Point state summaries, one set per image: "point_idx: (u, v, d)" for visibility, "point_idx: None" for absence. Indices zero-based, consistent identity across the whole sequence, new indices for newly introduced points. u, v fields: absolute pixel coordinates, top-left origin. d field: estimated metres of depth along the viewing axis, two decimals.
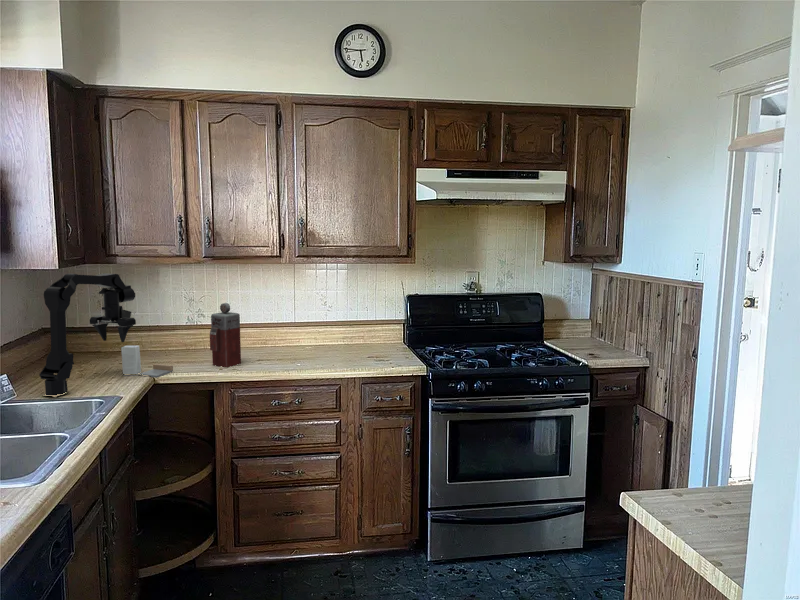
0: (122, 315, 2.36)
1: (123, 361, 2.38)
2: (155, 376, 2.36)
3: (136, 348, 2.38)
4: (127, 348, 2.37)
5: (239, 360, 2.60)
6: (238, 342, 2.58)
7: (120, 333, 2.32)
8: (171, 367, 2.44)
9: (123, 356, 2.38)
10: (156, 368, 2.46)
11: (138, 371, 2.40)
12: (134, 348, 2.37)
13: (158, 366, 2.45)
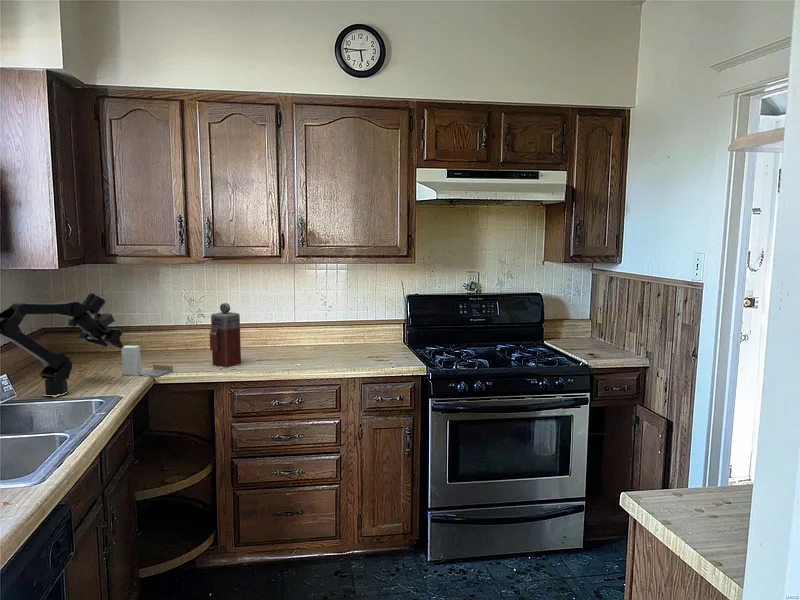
0: (105, 327, 2.24)
1: (123, 361, 2.38)
2: (155, 376, 2.36)
3: (136, 348, 2.38)
4: (127, 348, 2.37)
5: (239, 360, 2.60)
6: (238, 342, 2.58)
7: (114, 346, 2.26)
8: (171, 367, 2.44)
9: (123, 356, 2.38)
10: (156, 368, 2.46)
11: (138, 371, 2.40)
12: (134, 348, 2.37)
13: (158, 366, 2.45)
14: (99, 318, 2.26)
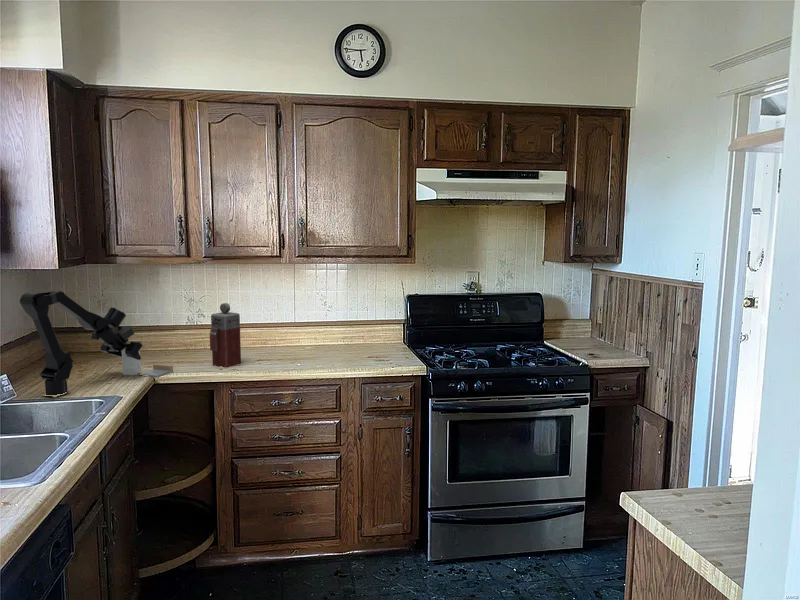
0: (125, 339, 2.33)
1: (123, 361, 2.38)
2: (155, 376, 2.36)
3: None
4: None
5: (239, 360, 2.60)
6: (238, 342, 2.58)
7: (133, 357, 2.35)
8: (171, 367, 2.44)
9: (123, 356, 2.38)
10: (156, 368, 2.46)
11: (138, 371, 2.40)
12: None
13: (158, 366, 2.45)
14: (120, 331, 2.35)
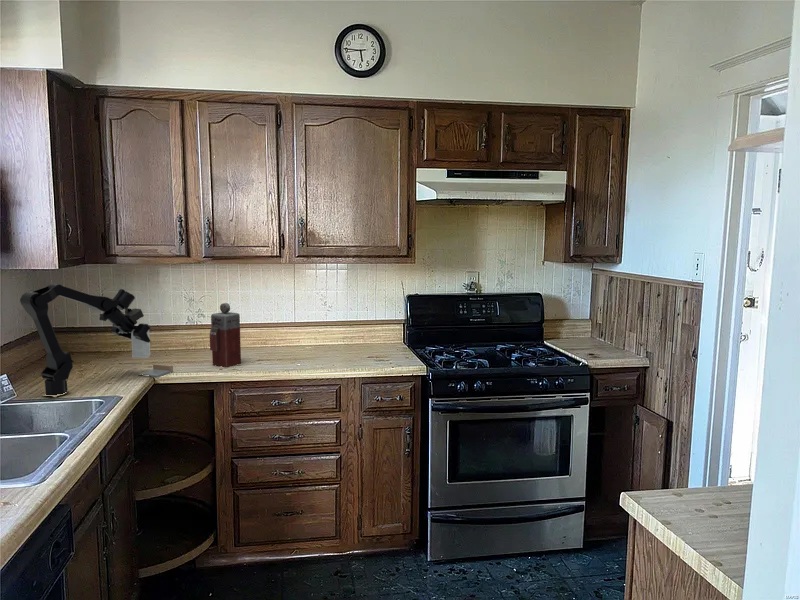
0: (134, 321, 2.33)
1: (133, 343, 2.38)
2: (155, 376, 2.36)
3: None
4: None
5: (239, 360, 2.60)
6: (238, 342, 2.58)
7: None
8: (171, 367, 2.44)
9: (132, 339, 2.38)
10: (156, 368, 2.46)
11: (147, 354, 2.40)
12: None
13: (158, 366, 2.45)
14: (129, 313, 2.35)
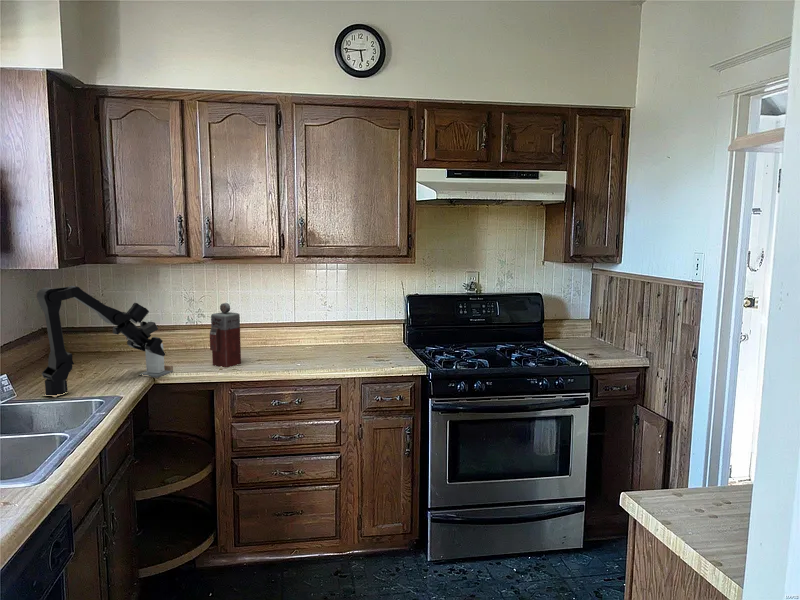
0: (148, 335, 2.34)
1: (147, 358, 2.39)
2: (155, 376, 2.36)
3: None
4: None
5: (239, 360, 2.60)
6: (238, 342, 2.58)
7: None
8: (171, 367, 2.44)
9: (146, 353, 2.39)
10: None
11: (160, 369, 2.40)
12: None
13: None
14: (143, 326, 2.37)
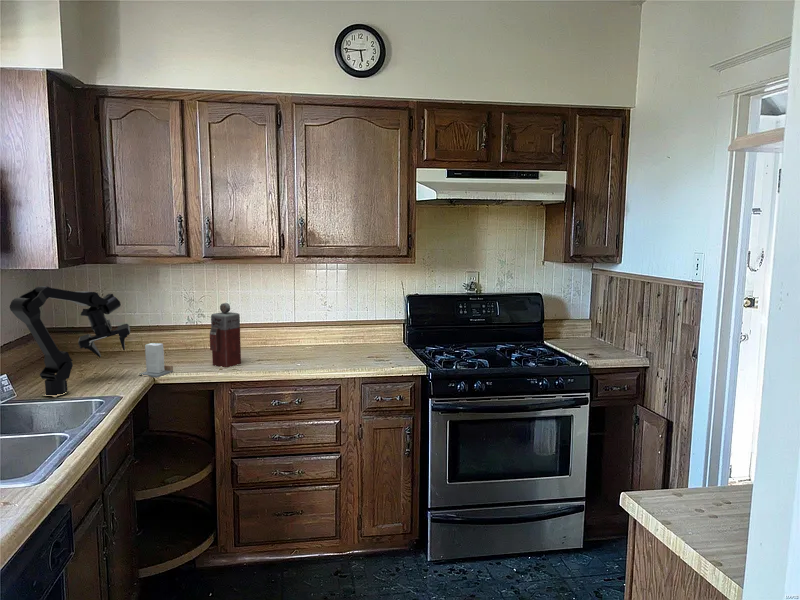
0: (110, 326, 2.30)
1: (147, 358, 2.39)
2: (155, 376, 2.36)
3: (158, 346, 2.38)
4: (150, 346, 2.38)
5: (239, 360, 2.60)
6: (238, 342, 2.58)
7: (123, 342, 2.30)
8: (171, 367, 2.44)
9: (146, 353, 2.39)
10: None
11: (160, 369, 2.40)
12: (156, 346, 2.38)
13: None
14: None
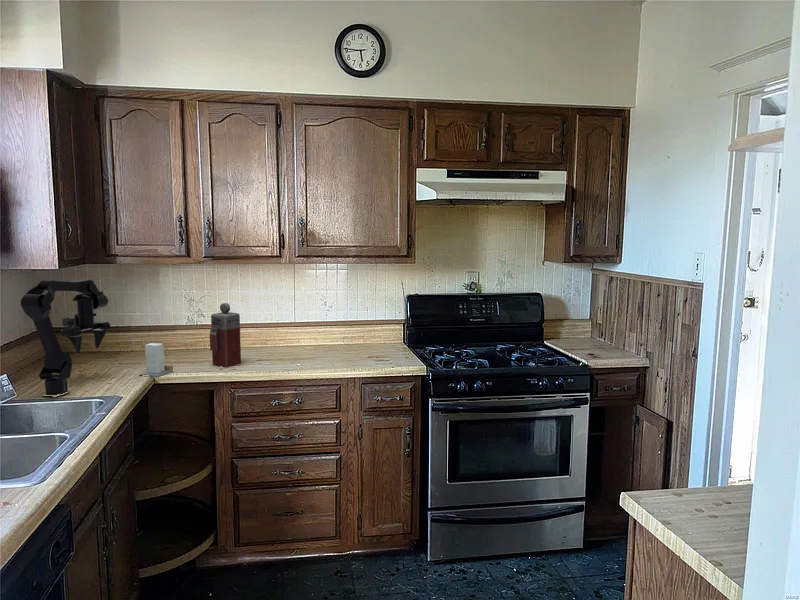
0: None
1: (147, 358, 2.39)
2: (155, 376, 2.36)
3: (158, 346, 2.38)
4: (150, 346, 2.38)
5: (239, 360, 2.60)
6: (238, 342, 2.58)
7: (102, 337, 2.31)
8: (171, 367, 2.44)
9: (146, 353, 2.39)
10: None
11: (160, 369, 2.40)
12: (156, 346, 2.38)
13: None
14: None
